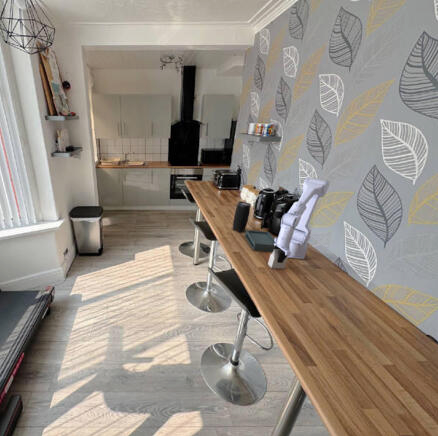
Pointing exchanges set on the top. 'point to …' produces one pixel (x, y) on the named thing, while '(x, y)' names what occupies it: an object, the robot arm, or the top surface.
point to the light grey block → (273, 260)
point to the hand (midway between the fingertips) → (277, 260)
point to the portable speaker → (241, 216)
